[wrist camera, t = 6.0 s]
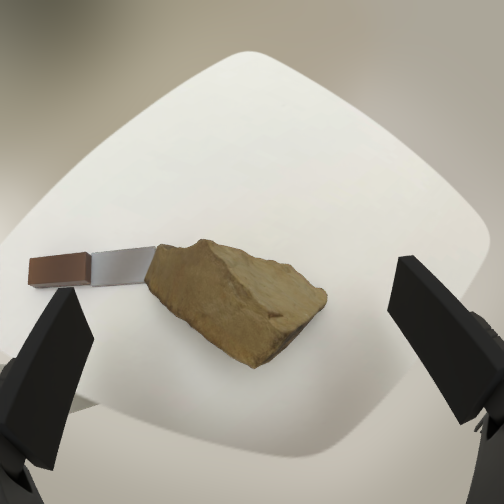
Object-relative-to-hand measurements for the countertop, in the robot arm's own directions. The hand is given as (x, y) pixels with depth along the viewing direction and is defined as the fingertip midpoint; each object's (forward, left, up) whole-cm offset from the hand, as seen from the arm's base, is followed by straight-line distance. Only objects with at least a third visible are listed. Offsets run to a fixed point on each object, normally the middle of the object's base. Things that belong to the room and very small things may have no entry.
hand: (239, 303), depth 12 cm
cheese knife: (-10, +4, -8) cm, 14 cm away
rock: (0, +2, -8) cm, 9 cm away
